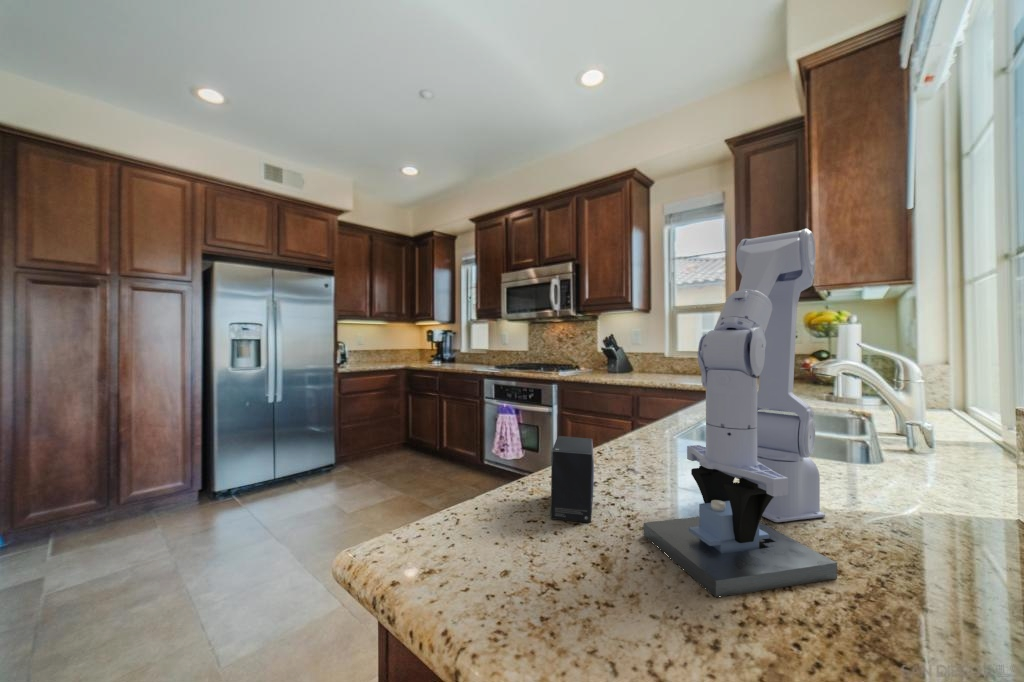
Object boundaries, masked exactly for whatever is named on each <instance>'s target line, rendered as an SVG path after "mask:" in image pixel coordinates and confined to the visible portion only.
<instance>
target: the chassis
mask: <svg viewBox="0 0 1024 682" xmlns="http://www.w3.org/2000/svg"><path fill="white" fill-rule="evenodd" d="M642 525H643V528H642V529H643V530H642V531H643V532H642V533H643V535H644V536H645V537H644V536H643V535H642V536H643V537H644V538H646V539H647V540H648V539H649V540H650V541H651V542H653V543H654V544H655V545H656V546H658V547H659V548H660V549H661V550H662V551H663V552H665V553H666V554H667V555H668V556H669V557H670V558H671V559H672V560H673V561H674V564H676V565H677V564H678V565H679V566H680V567H681V570H683V569H684V570H683V572H685V571H686V572H687V573H688V574H687V573H686V572H685V573H686V574H687V575H689V576H690V575H691V576H692V577H693V578H694V579H695V580H694V579H693V578H692V577H691V576H690V577H691V578H692V579H693V580H694V581H696V583H698V584H699V585H700V584H701V585H702V586H703V587H702V588H704V589H705V588H706V589H707V590H708V591H709V592H710V593H709V592H708V591H707V590H706V589H705V590H706V591H707V592H708V593H709V594H710V595H712V594H713V595H714V596H715V597H719V596H725V597H728V596H727V595H731V596H736V595H735V594H737V595H743V593H744V594H748V593H747V592H750V593H754V592H755V591H756V592H761V591H760V590H763V591H767V589H769V590H774V588H775V589H780V588H785V587H793V586H799V585H804V584H811V583H818V582H824V581H830V580H835V579H838V562H837V561H835V560H834V559H831V558H829V557H827V555H826V556H825V555H824V554H821V553H820V552H819V551H816V550H814V549H812V548H811V547H809V546H807V545H805V544H802V543H801V542H799V541H797V540H796V539H793V538H791V537H789V536H788V535H785V534H784V533H781V532H780V531H779V530H776V529H775V528H773V527H770V526H769V525H766V524H765V523H763V522H761V521H760V522H759V529H761V530H762V531H764V532H766V533H768V534H769V539H762V540H764V541H765V543H763V548H762V549H755V550H747V551H740V552H732V553H725V554H722V553H721V552H719V551H718V550H716V549H715V548H713V547H712V546H709V545H708V544H706V543H705V542H703V541H702V540H701V539H699V538H698V537H696V536H695V535H693V534H692V533H691V532H689V528H690V527H698V526H699V516H694V517H685V518H683V517H682V518H676V519H675V518H674V519H663V520H655V521H647V522H643V523H642ZM649 540H648V541H649ZM650 541H649V542H650ZM651 542H650V543H651ZM653 543H652V544H653ZM654 544H653V545H654ZM655 545H654V546H655ZM656 546H655V547H656ZM660 549H659V550H660ZM661 550H660V551H661ZM662 551H661V552H662ZM663 552H662V553H663ZM668 556H667V557H668ZM669 557H668V558H669ZM670 558H669V559H670ZM671 559H670V560H671ZM672 560H671V561H672ZM673 561H672V562H673ZM678 565H677V566H678ZM679 566H678V567H679ZM680 567H679V568H680ZM701 585H700V586H701ZM713 595H712V596H713ZM714 596H713V597H714ZM715 597H714V598H715ZM719 598H720V597H719Z"/></svg>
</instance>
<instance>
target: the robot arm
mask: <svg viewBox="0 0 1024 682" xmlns="http://www.w3.org/2000/svg"><path fill="white" fill-rule="evenodd" d="M815 240H816V239H815V237H814V233H813V232H812V231H811V230H810V229H808V228H803V229H801V230H797V231H790V232H784V233H778V234H772V235H766V236H760V237H754V238H743V239H742V240H740V242H739V243H738V245H737V247H736V254H735V256H736V257H735V258H736V259H735V260H736V265H737V266H736V267H737V270H738V272H739V274H740V276H741V279H740V284H739V288H738V290H736V291H734V292H732V293H731V294H729V295H728V296H727V298H726V299H725V302H724V303H723V306H722V309H721V311H720V314H719V317H718V319H717V321H716V323H715V326H714V328H713V330H710V331H708V332H707V334H703V335H702V336H701V337H700V339H699V342H698V349H697V355H696V356H697V362H698V366H699V369H700V373H701V374H700V375H701V385H702V387H704V388H705V446H704V445H703V446H702V445H700V444H698V445H697V444H695V445H687V446H686V459H687V460H689V461H690V462H697V463H699V464H698V465H699V466H698V467H694V468H691V470H690V471H691V472H690V473H691V476H692V478H693V479H694V481H695V482H696V485H697V486H698V489H699V491H700V494H701V497H702V499H703V503H711V501H712V500H720V501H730V505H731V509H732V516H733V531H734V536H735V540H736V541H737V542H739V543H747V542H753V541H754V537H755V534H756V531H757V527H758V524H759V522H761V519H762V517H764V518H765V519H767V520H770V521H772V523H773V522H774V523H782V522H783V523H784V522H791V521H798V520H799V521H800V520H801V521H802V520H807V519H808V520H809V519H816V518H824V517H826V514H825V512H823V511H820V509H821V508H820V507H821V506H820V505H821V503H820V502H821V498H820V497H821V496H820V495H821V492H820V488H821V487H820V486H821V484H820V483H821V482H820V479H821V478H820V477H821V476H820V471H819V469H818V467H817V465H816V463H815V461H814V460H813V459H812V458H811V457H810V456H812V455H813V453H814V451H815V444H816V425H815V417H814V416H815V414H814V411H813V409H812V407H811V406H810V405H809V404H808V403H806V402H805V401H803V400H802V399H801V398H799V396H796V394H794V378H795V360H796V359H795V358H796V337H797V335H796V334H797V313H798V305H799V300H800V296H801V292H803V291H806V290H807V289H809V288H810V287H812V286H813V282H814V279H815V273H816V272H815V271H816V241H815ZM763 410H767V411H775V412H776V413H775V412H765V411H763ZM777 412H785V413H795V415H794V414H793V415H792V414H785V413H777ZM735 478H736V479H738V481H737V482H735Z"/></svg>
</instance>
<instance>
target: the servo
mask: <svg viewBox="0 0 1024 682" xmlns="http://www.w3.org/2000/svg"><path fill="white" fill-rule="evenodd" d="M698 507H699V509H698V511H699V512H698V517H699V526H698V527H690V528H689V532H691V533H692V534H693V535H695V536H696V537H698V538H699V539H701V540H702V541H703V542H705V543H706V544H708V545H709V546H712V547H713V548H715V549H716V550H718V551H719V552H721V553H722V554H725V553H732V552H740V551H747V550H755V549H762V548H763V543H765V541H764V540H762V539H769V534H768V533H766V532H764V531H762V530H761V529H759V524H758V527H757V531H756V534H755V537H754V541H753V542H747V543H739V542H737V541H736V540H735V536H734V531H733V516H732V509H731V505H730V501H720V500H712V501H711V503H704V502H703V503H699V506H698Z"/></svg>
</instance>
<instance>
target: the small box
mask: <svg viewBox="0 0 1024 682" xmlns="http://www.w3.org/2000/svg"><path fill="white" fill-rule="evenodd" d="M593 443H594V442H593V438H587V437H585V438H584V437H577V436H574V437H573V436H562V435H558V436H557V437H556V440H555V443H554V444H553V447H552V449H551V458H550V459H551V466H550V467H551V475H550V477H551V479H550V484H551V485H550V515H549V516H550V517H549V519H551V520H559V521H560V520H562V521H569V522H570V521H571V522H580V523H592V522H591V521H592V514H593V504H594V503H593V502H594V501H593V500H594V484H595V483H594V480H595V473H594V471H595V463H594V462H595V460H594V459H595V458H594V446H593V445H594V444H593Z"/></svg>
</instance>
